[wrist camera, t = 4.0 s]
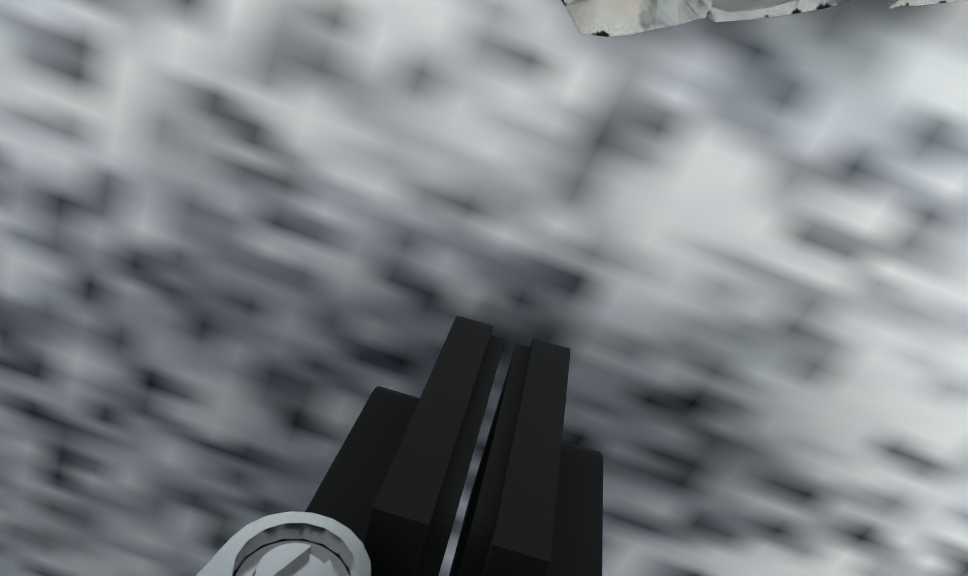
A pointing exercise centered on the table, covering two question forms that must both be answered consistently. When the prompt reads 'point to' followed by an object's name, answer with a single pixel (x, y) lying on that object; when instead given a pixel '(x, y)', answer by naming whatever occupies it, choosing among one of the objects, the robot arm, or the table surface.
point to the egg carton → (688, 12)
